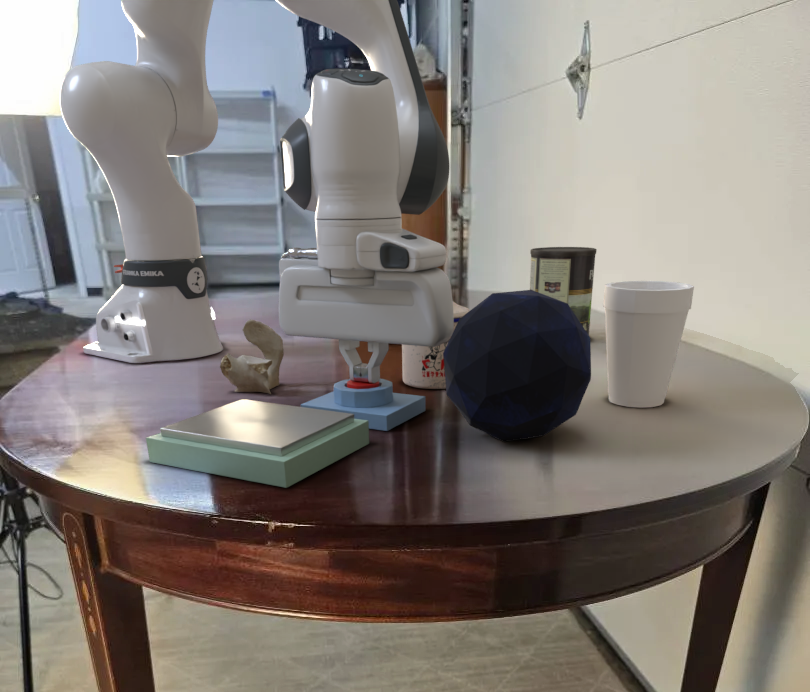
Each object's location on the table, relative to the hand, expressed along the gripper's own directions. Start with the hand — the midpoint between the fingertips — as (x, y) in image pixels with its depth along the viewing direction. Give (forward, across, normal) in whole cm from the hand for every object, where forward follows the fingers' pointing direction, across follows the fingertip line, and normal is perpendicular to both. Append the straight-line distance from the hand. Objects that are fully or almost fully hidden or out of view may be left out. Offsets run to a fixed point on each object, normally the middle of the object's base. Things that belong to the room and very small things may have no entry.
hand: (365, 381), depth 86 cm
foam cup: (+4, +26, +19) cm, 32 cm away
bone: (+4, -18, +4) cm, 19 cm away
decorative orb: (+4, +18, 0) cm, 18 cm away
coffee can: (+4, +5, +54) cm, 54 cm away
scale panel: (+4, 0, 0) cm, 4 cm away
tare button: (+2, 0, 0) cm, 2 cm away
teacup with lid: (+4, +1, +19) cm, 19 cm away
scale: (+4, -2, -16) cm, 17 cm away
